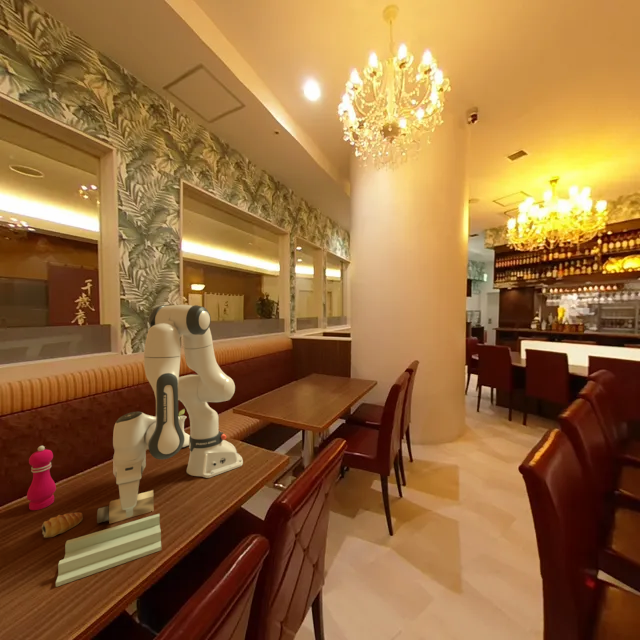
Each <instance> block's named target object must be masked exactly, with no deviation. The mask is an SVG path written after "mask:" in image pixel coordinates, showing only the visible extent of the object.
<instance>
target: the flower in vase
mask: <svg viewBox="0 0 640 640" xmlns="http://www.w3.org/2000/svg"><path fill="white" fill-rule="evenodd" d="M178 401H180V400H179V399H178ZM185 409H186V408H183V409H181V410H179V411H178V419H179V425H180V428H181V430H182V432H183V434H184V444H183V446H182V448H186V447H189V437H190V435H191V434H188V433H186V431H185V421H186V419H187V416H186V415H184V414H185V411H186V410H185Z"/></svg>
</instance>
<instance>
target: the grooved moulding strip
mask: <svg viewBox="0 0 640 640" xmlns="http://www.w3.org/2000/svg"><path fill="white" fill-rule="evenodd" d="M160 516H161V515H160V513H157V514H153V515H149V516H146V517H142V518H140V519H136V520H132V521H129V522H126V523H122V524H119V525H115V526H112V527H109V528H106V529H103V530H99V531H95V532H92V533H89V534H85V535H82V536H78V537H76V538H72V539H67V540H66V542H65V546H64V547H65V549H64V552H65V554H64V558H63V559H61V560H59V561H58V564H57V569H58V573H57V577H56V580H55V587H56V588H57V587H60V586H63V585H66V584H69V583H71V582H72V583H73V582H74V581H75V582H76V581H78V580H80V579H83V578H86V577H89V576H91V575H95V574H98V573H100V572H102V571H106V570H108V569H111V568H114V567H117V566H120V565H123V564H126V563H129V562H132V561H134V560H137V559H140V558H143V557H146V556H149V555H151V554H154V553H157V552H160V551H162V531H161V524H160V523H161V522H160V521H161V520H160V519H161V517H160Z"/></svg>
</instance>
